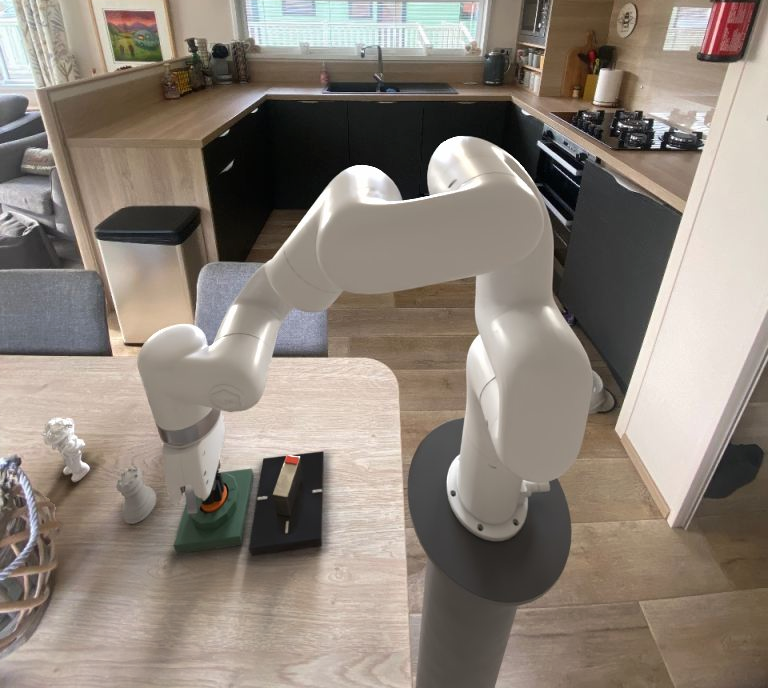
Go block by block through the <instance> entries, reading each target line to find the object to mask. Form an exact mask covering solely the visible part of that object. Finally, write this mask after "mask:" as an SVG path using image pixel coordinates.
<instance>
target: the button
mask: <svg viewBox="0 0 768 688" xmlns="http://www.w3.org/2000/svg"><path fill="white" fill-rule="evenodd" d="M222 495H223V496H222V500H221V501H218V502H213V504H210V505H204V504H201V507H202V510H203V512H204V513H205V514H208V513H214V512H215V511H217V510H218V509H220V508H221V507H222V506H223V505H224V503H225V502H226V500H227V498H228V494H227V490H226V487H225V486H224V492H223V493H222Z"/></svg>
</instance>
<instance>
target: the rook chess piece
mask: <svg viewBox="0 0 768 688" xmlns="http://www.w3.org/2000/svg"><path fill="white" fill-rule="evenodd" d="M120 475H121V476H119V477H118V478H117V481H116V485H115V486H116V491H118V492H119V493H120V494H121V496H122V497H124V501H123V505H122V510H121V512H122V516H123V517H122V518H123V520H124V521H125V522H126V523H127V524H136V523H139V522H141V521H143V520H144V519H146V518H147V517H148V516H149V515H150V514H151V512H152V511H153V510H154V508H155V505H156V503H157V495H156V492H155V491H154V489H153V488H152V487H151V486H147V485H145V484H144V483H143V482H144V479H143V471H142V469H141V468H140V467H136V466H134V467H133V466H128V467H127V470H126V471H125V470H123V471H122V472H121V473H120Z"/></svg>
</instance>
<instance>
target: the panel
mask: <svg viewBox="0 0 768 688" xmlns="http://www.w3.org/2000/svg"><path fill="white" fill-rule="evenodd" d="M290 455H291V456H297V457H300V461H301V469H302V480H301V483H300V487H299V490H298V493H297V496H296V500H295V503H294V506H293V510H292V513H291V516H290V517H288V516H283V515H277V514H276V510H275V504H274V498H273V492H274V489H275V487H276V484H277V481H278V478H279V475H280V473H281V470H282V467H283V464H284V461H285V458H286V456H287V455H279V456H272V457H263V458H262V465H261V470H260V477H259V482H258V489H257V496H256V502H255V509H254V515H253V519H252V520H253V521H252V527H251V534H250V539H249V546H248V551H249V555H250V557H258V556H264V555H271V554H277V553H284V552H291V551H298V550H304V549H311V548H319V547H323V534H324V533H323V532H324V531H323V530H324V490H325V489H324V486H325V485H324V484H325V481H324V480H325V452H324V450H322V451H321V450H320V451H313V452H305V453H297V454H296V453H295V454H290Z"/></svg>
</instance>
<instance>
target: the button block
mask: <svg viewBox="0 0 768 688" xmlns="http://www.w3.org/2000/svg"><path fill="white" fill-rule="evenodd" d="M218 473H221V476H222V480H223V484H224V486H225V487H226V490H227V494H228V498H227V500H226V502H225V503H224V505H223V506H222V507H221V508H220V509H218V510H217V511H215V512H214V513H208V514H205V513H204V512H203V510H202V507H201V506H200V509H199V512H198V513H194V514H188V512H187V504H186V503H185V506H184V509H183V513H182V516H181V518H180V521H179V526H178V529H177V533H176V535H175V539H174V542H173V548H174V552H175V554H176V555H181V554H187V553H194V552H200V551H208V550H214V549H220V548H229V547H234V546H241V545H243V540H244V535H245V529H246V524H247V519H248V518H247V517H248V511H249V505H250V500H251V494H252V490H253V489H252V488H253V482H254V477H255V476H254V472H253V468H243V469H236V470H228V471H221V472H220V471H219V472H218Z"/></svg>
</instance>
